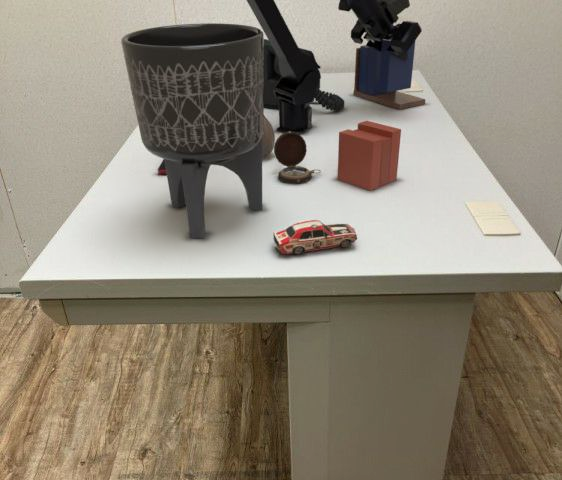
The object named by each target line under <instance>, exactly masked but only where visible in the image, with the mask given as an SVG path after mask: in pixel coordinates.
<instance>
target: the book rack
mask: <svg viewBox="0 0 562 480" xmlns="http://www.w3.org/2000/svg"><path fill="white" fill-rule="evenodd" d="M359 65H360V47H356V48H355V65H354V66H355V67H354V84H353V85H354V88H353V93H352V94H353V96H354V97H358V98H362V99H364V100H368V101H371V102H374V103H377V104H380V105H384V106H387V107H390V108H393V109H396V110H405V109H409V108H413V107H418V106H424V105H426V98H423V97H419V96H415V95H413V94H408V93H404V92H401V91H399V90H398V91H396V92H390V93H385V94H380V95H375V96H373V95H370V94H366V93H363V92H360V91H358V84H359Z"/></svg>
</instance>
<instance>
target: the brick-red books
mask: <svg viewBox="0 0 562 480" xmlns="http://www.w3.org/2000/svg"><path fill="white" fill-rule="evenodd" d="M401 135H402V129H401V128H399V127H394V126H390V125H386V124H382V123H378V122H375V121H369V120H365V121H361V122H358V123H357V128H356V129H353V130H352V129H348V128H347V129H345V130H341V131H338V155H337V181H340V182H343V183H346V184H349V185H352V186H356V187H359V188H361V189H363V190H367V191H370V192H371V191H373V190H375V189H379V188H381V187H383V186H386V185H388V184H391V183H393V182H395V181H397V179H398V170H399V169H398V167H399V157H400V147H401V138H402V137H401Z"/></svg>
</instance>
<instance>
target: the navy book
mask: <svg viewBox="0 0 562 480" xmlns="http://www.w3.org/2000/svg"><path fill="white" fill-rule="evenodd" d="M389 45H390V41H386V40H382V48H381V63H380V77H379V90H380V91H383V92H387V93H388V92H393V91H398V92H399V91H402V90H403V91H404V90H408V89H411V88H412V79H413V68H414V59H415V50H416V41H415V42H414V43H413V44H412V46H411V47H410V49H409V50H408V52H407V53H408V59H407V60H406V61H403V60H401V59H400V58H398V57H396V56H395V55H393V54H391V53H390V52H388V51H386V50H387V48H388V47H389Z"/></svg>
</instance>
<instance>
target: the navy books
mask: <svg viewBox="0 0 562 480" xmlns="http://www.w3.org/2000/svg"><path fill="white" fill-rule="evenodd" d="M359 48H360V65H359V84H358V91H360V92H363V93H366V94H370V95H373V96H375V95H380V94H385V93H387V92H383V91H380V90H379V77H380V63H381V52H379V51H377V50H374V49H372V48H370V47H367V46H366V44H365V45H360V47H359ZM393 92H396V91H393ZM388 93H390V92H388Z"/></svg>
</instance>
